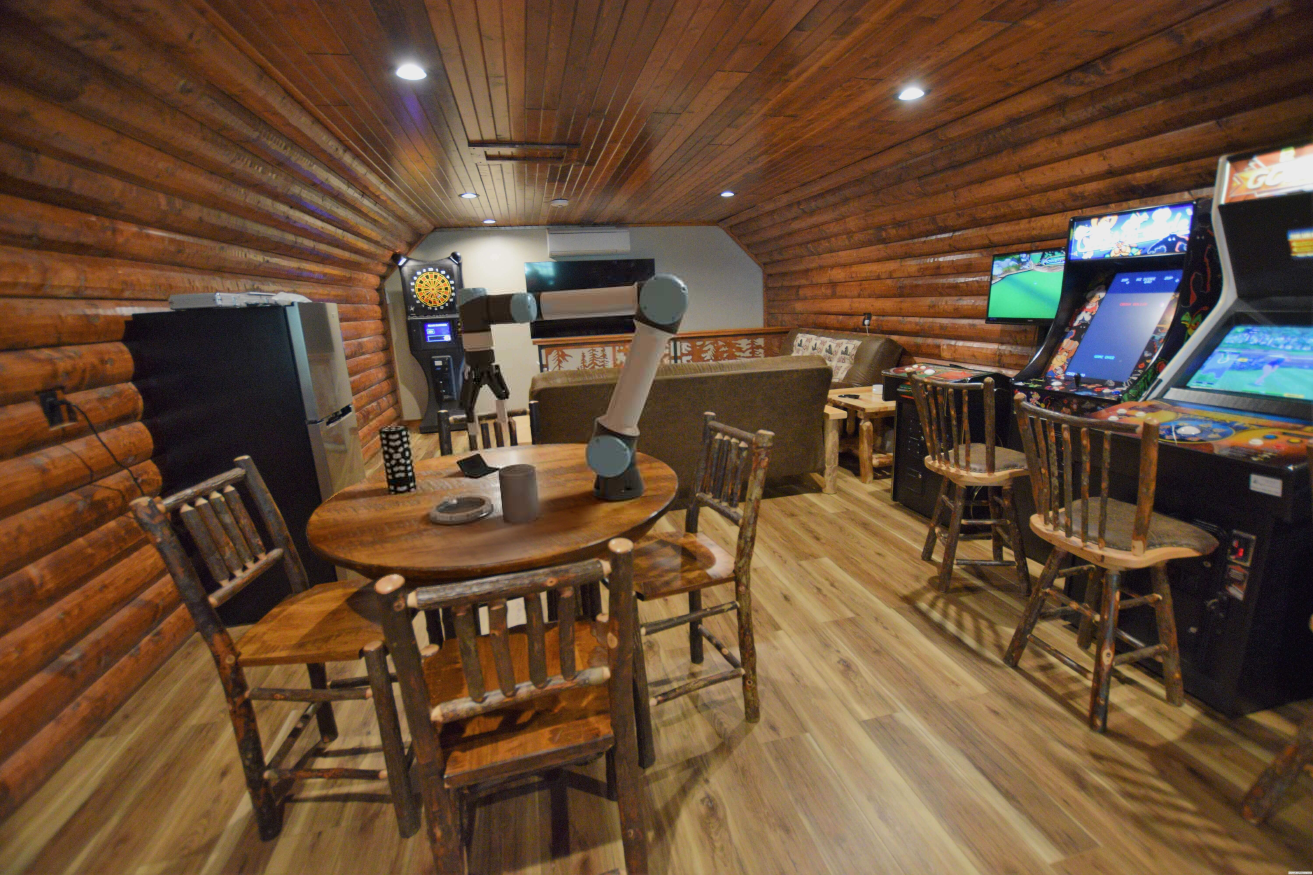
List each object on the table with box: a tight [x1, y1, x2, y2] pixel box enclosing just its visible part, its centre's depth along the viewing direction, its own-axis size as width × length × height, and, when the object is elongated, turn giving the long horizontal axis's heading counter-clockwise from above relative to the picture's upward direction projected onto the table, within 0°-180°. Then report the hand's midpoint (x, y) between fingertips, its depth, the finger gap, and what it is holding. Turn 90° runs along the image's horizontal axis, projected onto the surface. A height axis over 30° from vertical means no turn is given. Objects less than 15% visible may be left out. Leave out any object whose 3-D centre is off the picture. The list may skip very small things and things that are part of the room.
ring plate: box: [428, 494, 495, 526], centre depth 160 cm, size 17×17×2 cm
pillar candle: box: [497, 463, 540, 525], centre depth 154 cm, size 10×10×15 cm
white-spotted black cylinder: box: [378, 425, 418, 495], centre depth 181 cm, size 8×8×20 cm
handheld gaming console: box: [455, 452, 501, 480], centre depth 198 cm, size 12×7×10 cm
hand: (489, 428), depth 156 cm, fingers open, 13 cm apart
